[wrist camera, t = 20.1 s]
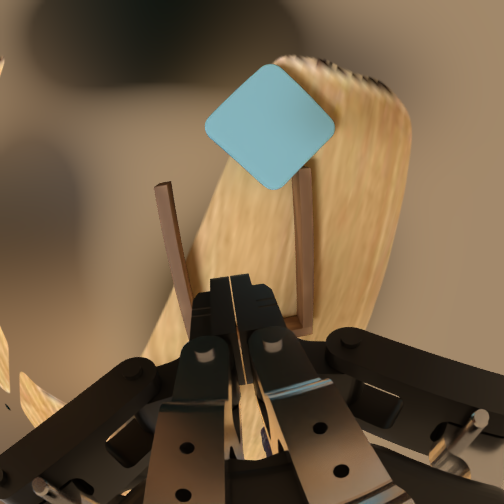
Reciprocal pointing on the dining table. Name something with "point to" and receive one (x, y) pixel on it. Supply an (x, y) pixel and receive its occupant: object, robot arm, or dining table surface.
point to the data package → (270, 126)
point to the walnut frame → (303, 247)
